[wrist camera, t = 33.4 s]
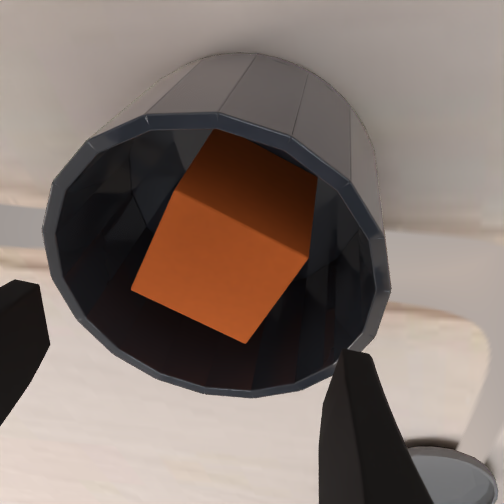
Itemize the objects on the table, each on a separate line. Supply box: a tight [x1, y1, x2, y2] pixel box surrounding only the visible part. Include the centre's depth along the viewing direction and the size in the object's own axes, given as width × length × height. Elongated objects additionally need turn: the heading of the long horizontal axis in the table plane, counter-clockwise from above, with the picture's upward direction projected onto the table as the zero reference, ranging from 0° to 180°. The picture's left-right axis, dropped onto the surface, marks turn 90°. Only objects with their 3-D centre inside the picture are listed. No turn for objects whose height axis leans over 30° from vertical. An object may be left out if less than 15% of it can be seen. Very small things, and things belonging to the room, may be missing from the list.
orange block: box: [131, 129, 318, 344], centre depth 16 cm, size 4×4×5 cm
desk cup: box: [42, 53, 391, 398], centre depth 15 cm, size 10×10×6 cm
